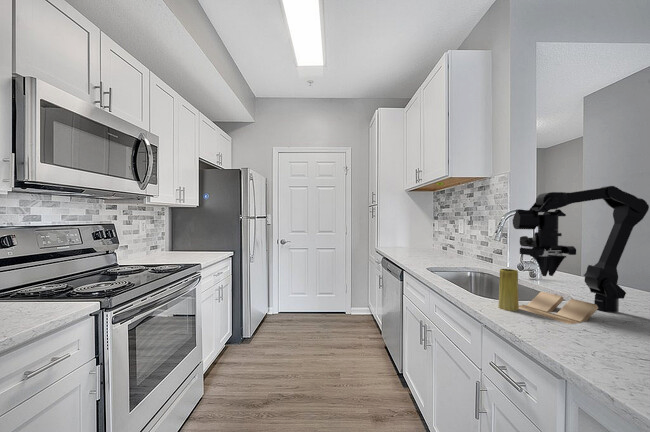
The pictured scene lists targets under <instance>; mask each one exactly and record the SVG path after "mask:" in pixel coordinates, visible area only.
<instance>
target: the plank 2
mask: <svg viewBox="0 0 650 432" xmlns="http://www.w3.org/2000/svg"><path fill="white" fill-rule="evenodd" d="M597 309H598V306H597V305H596V304H594V303H591V302H588V301H584V300H579V299H575V298H570V299H569V300H568V301H567V302H566V303H565V304H564V305H563V306H562V307H561V308H560V309H559V311H557V313H556V314H557V315H560V316H563V317H567V318H570V319H574V320H577V321H580V322H582V323H583V322H587V321H588V320H589V319H590V318H591V317H592V315H594V313H596V312H597V311H598V310H597Z"/></svg>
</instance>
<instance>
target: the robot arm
mask: <svg viewBox="0 0 650 432" xmlns="http://www.w3.org/2000/svg"><path fill="white" fill-rule="evenodd" d="M596 200H597V201H598V200H603V201H604V202H605V203H606V205H607V206H609V207H610V208H612V209H613V212H612V217H613V226H612V228H611V230H610V233H609V234H608V237H607V241H606V243H605V245H604V247H603V249H602V251H601V255H600V257H599V259H598V261H597V263H595V264H594V265H592V264H587V268H586V271H585V273H584V274H583V276H584V283H585V285H586V286H588V287H587V288H588V289H589V291H590V293H593V294H594V302H593V304H596V305H597V306H598V309H597V310H596V311H598V312H599V311H600V312H602V313H618V312H619V303H620V302H619V301H620V300H619V299H625V297H626V294H627V293H626V291H625V290H624V289H623V288H622V287H621V286H620V285H619V284H618V281H619V274H618V265H619V263H620V260H621V258H622V256H623V253H624V251H625V248H626V247H627V246H626V245H627V244H628V242H629V239H630V237H631V234H632V231H633V230H634V228H635V226H636V225H638V224H639V223H640V222H642V221H643V219H644V218H645V216H646V214H647V213H648V212H649V209H650V205H649V204H648V202H647V201H646V200H645V199H643V198H639V197H637V196H636V195H634V194H631V193H629V192H627V191H624V190H622V189H620V188H618V187H617V186H615V185H608V186H602V187H600V188H593V189H585V190H579V191H571V192H562V191H552V192H544V193H540V194H538V195H537V196H536V199H535V202H534V203H533V205H531V207H530V208H529V209H521V208H520V209H516V210H515V213H514V215H513V218H512V226H513V229H515V230H535V229H536V228H537V231H536V232H534V234H533V235H534V236H533V237H528V236H526V235H524V236H519V246H521V247H520V248H519V255H525V256H529V257H532V258H533V259H534V260H535V261H536V263H537V265H538V267H539V271H540V273H541V275H542V277H547V275H549V276H550V277H553V276H554V275H555V273H556V271H557V270H558V268H559V266H560V265H561V264H562V263H563V261H564V260H565V258H567V255H569V256H575V255H577V249H576V247H575V246H573V245H563V244H559V237H562V235H563V234H562V232H559V217H566V216H567V214H566V213H564V212H563V211H562V210H561V208H564V207H566V206H568V205H571V204H575V203H576V204H577V203H582V202H583V203H585V202H589V201H596ZM550 210H551V211H550ZM552 210H554V211H552ZM539 213H543V214H539ZM563 254H567V255H563ZM619 313H620V312H619Z"/></svg>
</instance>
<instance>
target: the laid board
mask: <svg viewBox="0 0 650 432" xmlns="http://www.w3.org/2000/svg"><path fill="white" fill-rule="evenodd" d="M519 310H522V311H525V312H529V313H532V314H535V315H538V316H541V317H545V318H548V319H550V320H551V319H552V320H553V321H557V322H561V323H563V324H567V325H573V324H582V323H583V322H580V321H577V320H574V319H570V318H567V317H563V316H560V315H557V313H552V312H547V311H543V310H540V309H536V308H533V307H530V306H527V305H526V304H521V305H519Z"/></svg>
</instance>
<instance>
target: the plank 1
mask: <svg viewBox="0 0 650 432" xmlns="http://www.w3.org/2000/svg"><path fill="white" fill-rule="evenodd" d="M564 300H565V299H564V297H563V296H562V295H558V294H553V293H549V292H545V291H540V292H539V293H538V294H537V295H535V297H534V298H533V299H532V300H531V301H530V302H529V303H527V305H526V306H530V307H533V308H536V309H540V310H543V311H547V312H550V313H552V312H554V310H555V309H556V308H558V306H560V304H561V303H562V302H564Z"/></svg>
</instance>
